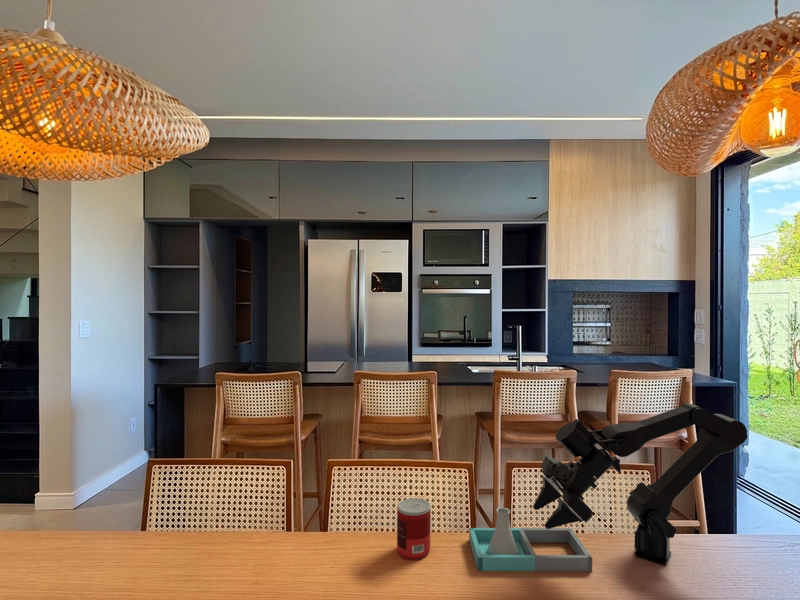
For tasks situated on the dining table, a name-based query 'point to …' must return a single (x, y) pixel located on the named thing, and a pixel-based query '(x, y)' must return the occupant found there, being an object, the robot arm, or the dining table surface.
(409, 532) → the canned food
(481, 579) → the dining table surface
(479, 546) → the tray
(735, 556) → the dining table surface
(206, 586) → the dining table surface
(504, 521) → the flask
